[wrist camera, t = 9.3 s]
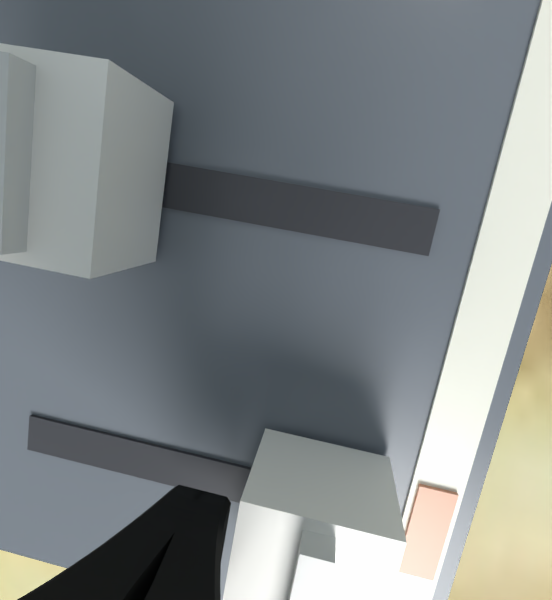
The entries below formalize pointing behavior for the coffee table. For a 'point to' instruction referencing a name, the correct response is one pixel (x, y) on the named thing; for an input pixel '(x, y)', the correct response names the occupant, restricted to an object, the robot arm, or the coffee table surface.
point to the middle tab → (79, 163)
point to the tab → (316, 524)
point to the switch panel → (291, 265)
